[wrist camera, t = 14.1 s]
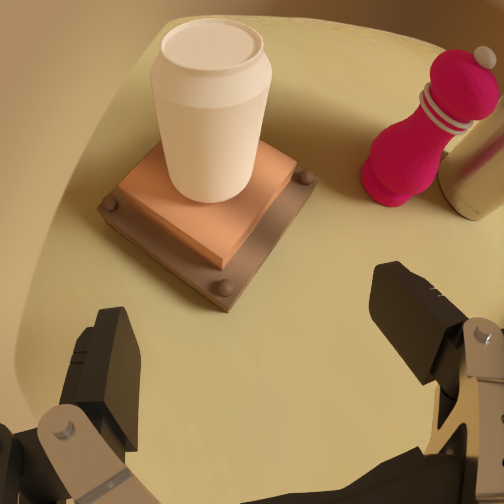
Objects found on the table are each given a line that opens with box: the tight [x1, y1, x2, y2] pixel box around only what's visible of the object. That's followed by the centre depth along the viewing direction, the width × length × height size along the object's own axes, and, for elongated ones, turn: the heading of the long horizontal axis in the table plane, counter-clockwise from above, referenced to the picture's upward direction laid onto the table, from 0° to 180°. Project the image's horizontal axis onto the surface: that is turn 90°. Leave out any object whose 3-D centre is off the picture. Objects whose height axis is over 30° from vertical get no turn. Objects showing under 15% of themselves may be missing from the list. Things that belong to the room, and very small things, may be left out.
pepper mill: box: [361, 46, 499, 207], centre depth 23 cm, size 7×7×20 cm
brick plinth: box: [97, 139, 319, 313], centre depth 27 cm, size 14×14×6 cm
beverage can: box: [150, 18, 272, 203], centre depth 18 cm, size 6×6×12 cm
